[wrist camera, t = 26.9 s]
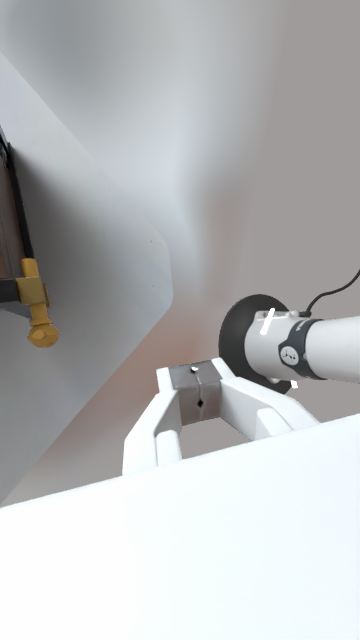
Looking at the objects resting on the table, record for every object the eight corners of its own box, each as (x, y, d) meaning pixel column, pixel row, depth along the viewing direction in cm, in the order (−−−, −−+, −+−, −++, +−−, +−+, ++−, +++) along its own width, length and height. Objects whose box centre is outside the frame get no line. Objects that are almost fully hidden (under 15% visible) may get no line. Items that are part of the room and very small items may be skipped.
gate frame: (-13, 142, 32) (-74, 24, 20) (24, 147, 34) (-11, 43, 22) (25, 320, 32) (-15, 307, 20) (60, 314, 34) (43, 300, 22)
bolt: (16, 266, 25) (3, 252, 21) (46, 264, 26) (38, 251, 22) (34, 350, 25) (23, 352, 21) (63, 344, 26) (58, 344, 22)
